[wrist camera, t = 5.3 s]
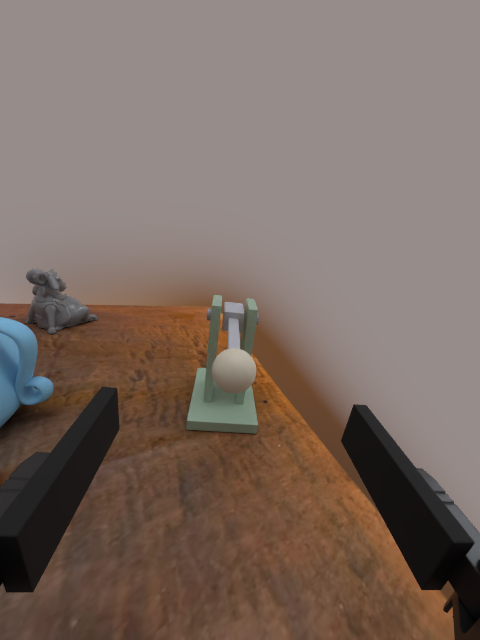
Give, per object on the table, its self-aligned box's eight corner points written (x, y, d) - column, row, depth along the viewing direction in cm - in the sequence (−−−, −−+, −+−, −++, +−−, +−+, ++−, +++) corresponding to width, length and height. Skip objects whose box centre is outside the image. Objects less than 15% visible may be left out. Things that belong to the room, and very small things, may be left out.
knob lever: (254, 405, 19) (262, 368, 18) (208, 401, 19) (212, 364, 17) (245, 325, 31) (249, 299, 30) (216, 323, 31) (219, 296, 29)
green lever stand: (256, 434, 28) (277, 322, 23) (186, 429, 27) (193, 314, 23) (248, 378, 38) (262, 293, 34) (197, 374, 38) (204, 287, 33)
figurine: (102, 320, 52) (99, 270, 49) (49, 335, 44) (41, 274, 40) (77, 310, 55) (72, 262, 52) (23, 322, 47) (13, 265, 43)
